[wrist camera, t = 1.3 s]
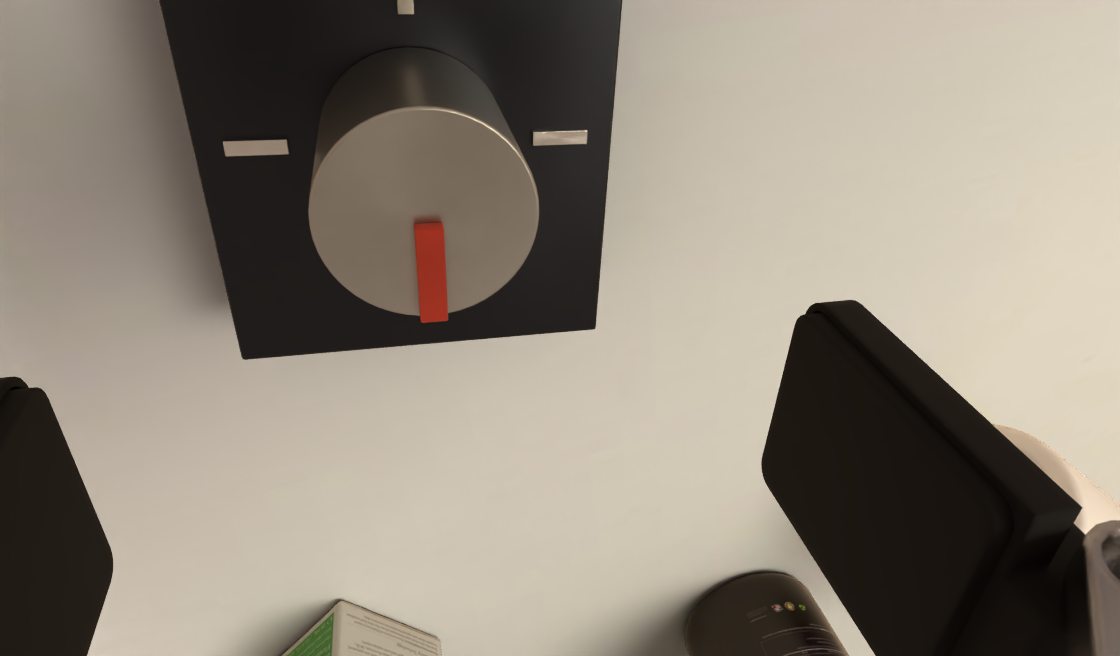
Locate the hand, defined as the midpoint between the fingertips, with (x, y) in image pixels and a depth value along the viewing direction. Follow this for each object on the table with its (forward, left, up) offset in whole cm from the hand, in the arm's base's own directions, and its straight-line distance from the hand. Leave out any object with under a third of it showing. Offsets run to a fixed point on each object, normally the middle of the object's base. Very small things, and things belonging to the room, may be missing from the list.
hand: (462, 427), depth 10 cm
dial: (0, 0, -10) cm, 10 cm away
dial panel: (0, 0, -14) cm, 14 cm away
